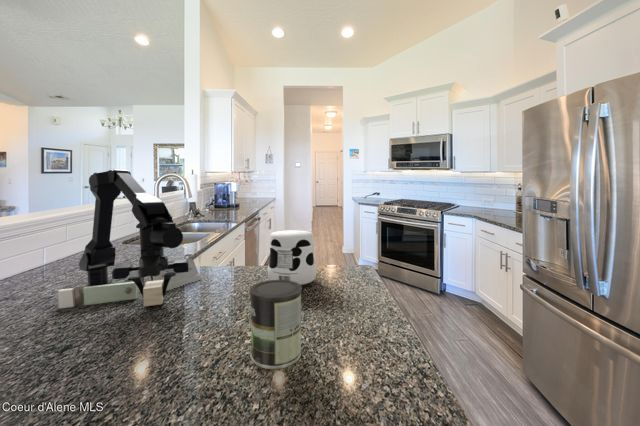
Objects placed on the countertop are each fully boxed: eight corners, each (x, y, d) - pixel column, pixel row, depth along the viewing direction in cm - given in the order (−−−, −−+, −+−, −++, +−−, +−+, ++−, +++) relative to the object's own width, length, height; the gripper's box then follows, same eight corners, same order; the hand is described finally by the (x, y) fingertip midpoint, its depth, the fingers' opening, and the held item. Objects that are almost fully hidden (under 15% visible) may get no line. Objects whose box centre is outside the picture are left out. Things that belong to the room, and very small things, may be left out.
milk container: (305, 273, 117) (305, 228, 115) (324, 286, 101) (324, 235, 100) (262, 279, 109) (261, 231, 108) (276, 294, 94) (275, 239, 92)
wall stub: (61, 306, 84) (60, 289, 83) (75, 304, 85) (74, 287, 85) (59, 308, 82) (57, 291, 82) (73, 306, 84) (72, 289, 83)
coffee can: (247, 371, 55) (245, 297, 53) (254, 342, 65) (253, 280, 64) (302, 368, 55) (302, 296, 54) (301, 340, 66) (301, 278, 64)
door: (85, 303, 86) (84, 286, 86) (137, 297, 91) (136, 281, 91) (82, 306, 84) (81, 289, 83) (136, 300, 89) (135, 283, 88)
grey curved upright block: (158, 293, 94) (151, 263, 95) (151, 295, 97) (144, 266, 98) (202, 279, 109) (196, 253, 110) (195, 281, 111) (188, 256, 112)
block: (147, 297, 88) (146, 281, 87) (164, 295, 89) (163, 279, 89) (143, 306, 81) (143, 289, 81) (162, 304, 83) (161, 286, 83)
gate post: (76, 304, 85) (75, 286, 85) (84, 303, 86) (82, 285, 86) (74, 306, 84) (72, 288, 83) (81, 305, 84) (80, 287, 84)
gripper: (104, 253, 73) (108, 313, 74) (187, 247, 80) (189, 302, 82) (115, 244, 83) (118, 298, 84) (187, 240, 90) (189, 289, 92)
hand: (154, 297), depth 85 cm, fingers closed on block, 4 cm apart
